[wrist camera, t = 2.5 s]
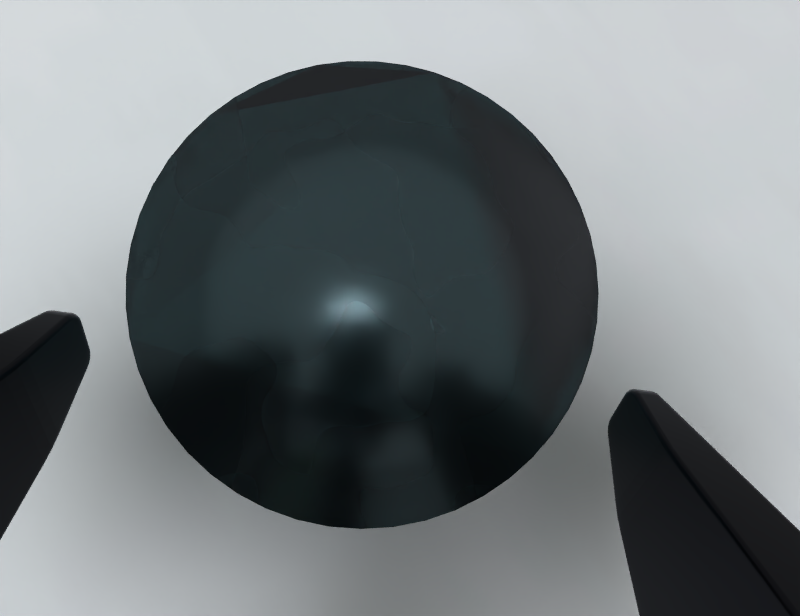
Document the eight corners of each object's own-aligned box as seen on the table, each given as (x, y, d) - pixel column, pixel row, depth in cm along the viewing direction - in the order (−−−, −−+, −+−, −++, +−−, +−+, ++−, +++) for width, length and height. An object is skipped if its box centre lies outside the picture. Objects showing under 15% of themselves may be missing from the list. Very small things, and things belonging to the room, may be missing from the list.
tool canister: (467, 369, 18) (681, 378, 6) (332, 444, 17) (264, 624, 5) (395, 237, 18) (459, -10, 6) (259, 307, 17) (42, 184, 6)
